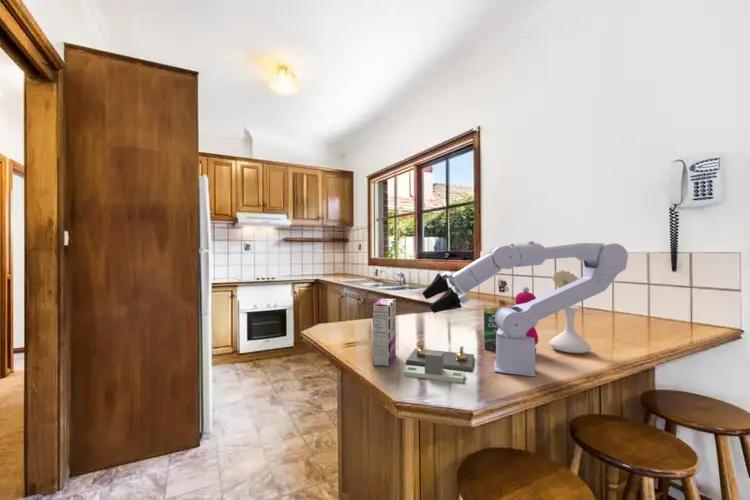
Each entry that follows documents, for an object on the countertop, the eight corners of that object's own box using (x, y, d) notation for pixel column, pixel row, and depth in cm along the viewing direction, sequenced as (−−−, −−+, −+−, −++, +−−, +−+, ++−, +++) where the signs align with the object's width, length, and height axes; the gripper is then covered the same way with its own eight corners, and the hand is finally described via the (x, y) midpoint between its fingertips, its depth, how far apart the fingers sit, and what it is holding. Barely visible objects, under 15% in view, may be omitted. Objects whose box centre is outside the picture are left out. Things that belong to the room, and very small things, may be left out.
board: (464, 375, 86) (464, 353, 86) (462, 383, 82) (463, 359, 82) (408, 369, 91) (408, 347, 91) (403, 375, 86) (404, 352, 86)
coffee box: (482, 349, 110) (483, 307, 110) (484, 347, 113) (485, 306, 113) (510, 353, 106) (510, 309, 106) (511, 351, 109) (512, 308, 109)
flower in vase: (600, 355, 105) (601, 271, 106) (568, 357, 103) (569, 271, 103) (566, 343, 118) (567, 269, 118) (537, 345, 115) (538, 269, 115)
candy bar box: (379, 353, 104) (380, 298, 104) (396, 354, 103) (396, 298, 103) (371, 365, 93) (372, 303, 93) (390, 367, 92) (390, 304, 92)
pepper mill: (543, 356, 104) (543, 288, 104) (519, 356, 103) (520, 288, 103) (530, 349, 111) (531, 285, 111) (508, 349, 110) (508, 285, 110)
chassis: (473, 357, 101) (474, 342, 101) (471, 371, 90) (471, 353, 90) (415, 351, 106) (415, 336, 106) (406, 363, 95) (406, 347, 95)
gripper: (455, 254, 98) (414, 280, 99) (476, 275, 84) (427, 304, 85) (466, 273, 100) (426, 298, 101) (488, 297, 87) (441, 325, 88)
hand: (427, 302), depth 93 cm, fingers open, 7 cm apart
